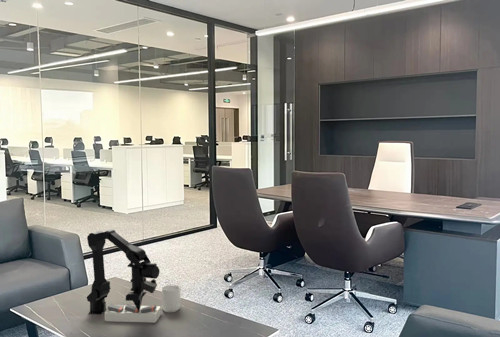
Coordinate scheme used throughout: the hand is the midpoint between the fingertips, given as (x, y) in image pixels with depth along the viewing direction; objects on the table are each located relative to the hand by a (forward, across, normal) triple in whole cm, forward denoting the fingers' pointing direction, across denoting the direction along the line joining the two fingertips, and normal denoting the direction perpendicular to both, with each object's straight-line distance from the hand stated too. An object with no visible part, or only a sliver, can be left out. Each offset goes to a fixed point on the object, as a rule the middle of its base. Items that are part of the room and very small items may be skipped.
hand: (138, 309), depth 202 cm
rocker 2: (0, 0, +3) cm, 3 cm away
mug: (+6, +15, -13) cm, 20 cm away
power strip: (+5, +2, +3) cm, 6 cm away
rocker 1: (0, 0, +11) cm, 11 cm away
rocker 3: (0, 0, -5) cm, 5 cm away
